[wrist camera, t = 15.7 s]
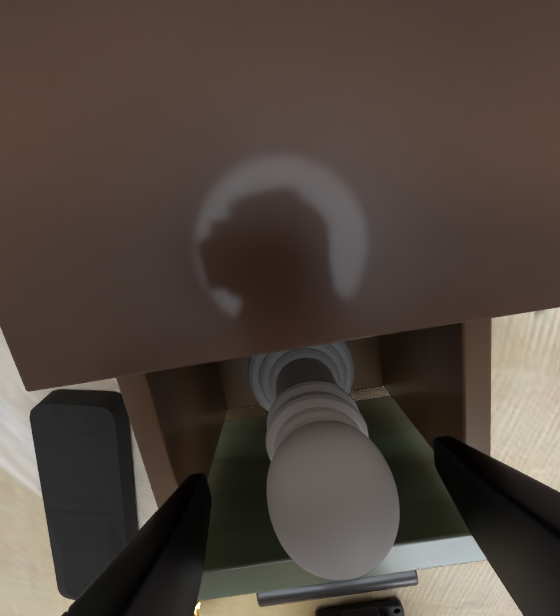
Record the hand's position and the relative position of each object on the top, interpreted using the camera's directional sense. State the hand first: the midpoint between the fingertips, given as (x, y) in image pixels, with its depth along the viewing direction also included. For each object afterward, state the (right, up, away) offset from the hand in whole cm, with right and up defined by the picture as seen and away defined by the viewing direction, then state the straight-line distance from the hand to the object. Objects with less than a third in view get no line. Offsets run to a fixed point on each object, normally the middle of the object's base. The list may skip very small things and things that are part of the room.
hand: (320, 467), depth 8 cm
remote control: (-13, 0, +8) cm, 15 cm away
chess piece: (0, +1, +7) cm, 7 cm away
